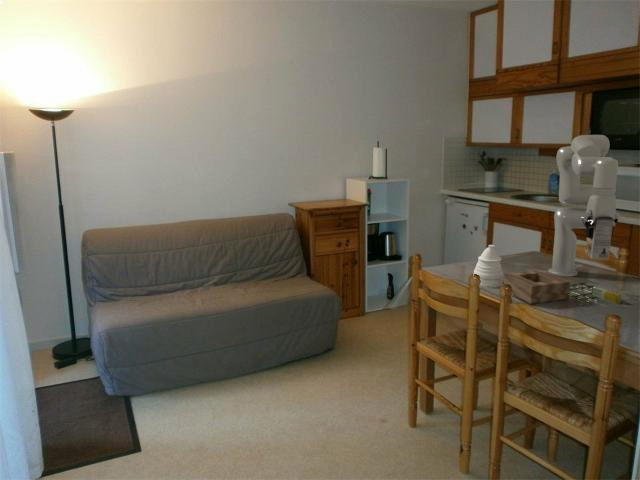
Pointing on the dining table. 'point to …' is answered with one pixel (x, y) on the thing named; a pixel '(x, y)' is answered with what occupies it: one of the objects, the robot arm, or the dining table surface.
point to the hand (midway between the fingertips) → (598, 236)
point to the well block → (538, 287)
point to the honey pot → (489, 268)
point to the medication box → (606, 294)
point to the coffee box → (600, 239)
